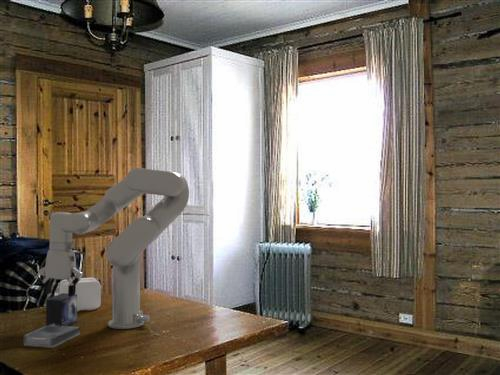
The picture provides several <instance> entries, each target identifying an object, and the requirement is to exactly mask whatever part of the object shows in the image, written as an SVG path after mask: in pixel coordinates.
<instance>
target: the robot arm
mask: <svg viewBox="0 0 500 375" xmlns="http://www.w3.org/2000/svg"><path fill="white" fill-rule="evenodd" d="M189 188H190V187H189V185H188V181H187V179H186V177H185V176H184V175H183V174H181V173H179V172H176V171H167V170H159V169H150V168H144V167H133V168H132V169H131V170H129V172H127V174H126V176H125V177H124V178H122V179H121V180H120V181H118V182H117V183H116V184H114V185H112V187H110V188H108V189H107V190H106V191H105V194H104V196H103V197H102V198H101V199H100V200H99V201H98V202H97V203H95V204H94V205H93V206H91V207H89V208H88V209H86V210H85V211H82V212H81V211H80V212H75V213H71V212H68V211H67V212H66V211H57V212H56V211H55V212H52V213H51V214H50V215H49V216H50V218H49V219H50V220H49V248H48V249H49V250H48V251H47V254H46V258H45V265H44V266H43V267H41V268H40V269H38V270H37V272H38V275H39V278H40V279H41V281H42V284H43V295H49V294H52V280H61V281H62V280H67V281H68V282H69V284H70V285H69V286H68V296H69V297H71V296H74V295H75V292H76V284H77V283H78V282H79V281H80V278H83V277H82V276H83V275H84V274H83V272H82V271H81V270H79V269H78V268H77V262H76V261H77V260H76V255H75V254H76V253H75V250H73V249H75V247H76V245H75V244H73V234H77V235H84V234H86V233H90V232H93V231H94V230H96V229H98V228H99V227H100V226H101V225H103V224H105V223H106V222H107V221H109V220H110V219H111V218H113V217H114V216H115V215H116V214H117V213H120V212H121V211H122V210H124V209H125V208H126V207H127V206H128V205H131V203H133V202H134V201H135V200H137V199H138V198H140V197H141V196H143V195H144V194H147V195H155V196H163V197H162V199H161V200H160V201H159V202H158V203H156V204H155V205H154V206H153V207H152V208H151V210H149V211H148V212H147V213H146V214H144V215H142V216H141V217H138V218H136V219H134V220H133V221H132V222H131V223H129V225H128V226H127V227H126V228H125V229H123V230H122V232H120V233H119V234H118V235H117V236H116V237H115V238H114V239H113V240H112V241H111V242H110V243H109V244H108V246H107V248H106V250H105V253H106V259H107V261H108V262H109V264H111V265H112V285H111V286H112V319H110V320H109V321H108V322H107V326H108V327H109V328H110V329H117V330H129V329H135V328H139V327H142V326H144V325H145V322H146V323H147V322H148V323H149V322H150V320H151V317H150V316H151V315H149V314H144V311H143V310H141V285H140V284H141V260H142V259H141V257H142V252H144V251H145V250H146V248H148V247H149V246H150V245H151V244H152V243H153V242H154V241H156V240H157V239H158V238H159V237H160V235H161V234H162V233H163V232H164V231H165V230H166V229H167V228H168V227H169V226H170V225H171V224H172V223H173V222H174V221H175V220H176V219H177V218H178V217H179V216H180V215H181V214H182V213H183V212H184V210H185V208H186V207H187V204H188V202H189V198H190V189H189Z"/></svg>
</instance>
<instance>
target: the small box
mask: <svg viewBox="0 0 500 375" xmlns="http://www.w3.org/2000/svg"><path fill="white" fill-rule="evenodd" d="M45 301H46V302H45V313H46V314H45V326H46V325H49V324H51V323H55V326H69V327H71V326H72V325H75V324H76V323H78V311H77V294H75V295H74V296H71V297H69V296H68V294H66V293H62V294H59V293H58V294H57V295H53V296H51V297H48V298H46V300H45Z"/></svg>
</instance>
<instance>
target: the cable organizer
mask: <svg viewBox="0 0 500 375" xmlns="http://www.w3.org/2000/svg"><path fill="white" fill-rule="evenodd" d="M69 285H70V284H69V282H68V281H67V280H62V279H61V280H60V282H59V283H58V287H59V288H58V290H59V291H58V292H59V293H58V295H59V294H62V293H66V294H68V286H69ZM101 286H102V285H101V283H100V281H99V280H97V279H96V278H95V277H81V278H80V281H79V282H78V283H77V284H76V292H75V294H77V312H80V311H83V310H84V311H85V310H86V311H94V310H96V309H98V308H99V307H100V306H101V303H102V296H101V295H102V293H101V292H102V290H101V289H102V288H101Z"/></svg>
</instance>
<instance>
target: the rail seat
mask: <svg viewBox="0 0 500 375" xmlns="http://www.w3.org/2000/svg"><path fill="white" fill-rule="evenodd" d="M80 329H81V327H80V326H55V323H51V324H49V325H46V324H45V325H44V326H42V327H39V328H38V329H34V330H33V331H31V332H28V333H26V334H23V346H26V347H37V348H51V349H53V348H56V347H58V346H61V345H62V344H64V343H65V342H68V341H69V340H72V339H73V338H75V337H77V336H80V335H81V330H80Z"/></svg>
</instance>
